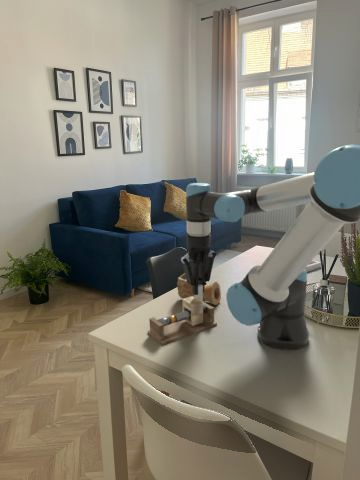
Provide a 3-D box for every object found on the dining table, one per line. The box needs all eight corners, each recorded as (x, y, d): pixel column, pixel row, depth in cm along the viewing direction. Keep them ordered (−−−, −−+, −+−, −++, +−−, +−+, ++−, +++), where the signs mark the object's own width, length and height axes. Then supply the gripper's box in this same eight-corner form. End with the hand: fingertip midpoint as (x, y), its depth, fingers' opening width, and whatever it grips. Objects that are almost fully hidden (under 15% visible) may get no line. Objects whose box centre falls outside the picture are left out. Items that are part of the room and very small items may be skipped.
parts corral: (320, 267, 172) (321, 262, 171) (298, 274, 163) (299, 269, 163) (293, 259, 184) (293, 254, 184) (272, 265, 176) (272, 260, 175)
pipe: (216, 309, 131) (216, 283, 128) (173, 304, 136) (173, 279, 133) (221, 299, 139) (222, 275, 136) (181, 294, 144) (181, 271, 142)
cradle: (200, 314, 127) (200, 300, 125) (217, 325, 120) (217, 309, 118) (147, 332, 116) (147, 316, 114) (162, 345, 108) (161, 328, 107)
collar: (192, 315, 123) (192, 296, 121) (202, 322, 118) (202, 302, 116) (182, 319, 120) (182, 299, 119) (192, 325, 116) (192, 305, 114)
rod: (202, 310, 123) (202, 303, 122) (207, 313, 120) (207, 306, 120) (156, 326, 113) (156, 318, 112) (160, 329, 111) (160, 321, 110)
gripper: (208, 228, 120) (207, 294, 126) (174, 233, 113) (175, 303, 119) (222, 232, 114) (221, 302, 120) (187, 239, 107) (188, 312, 113)
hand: (198, 302), depth 120 cm, fingers closed
